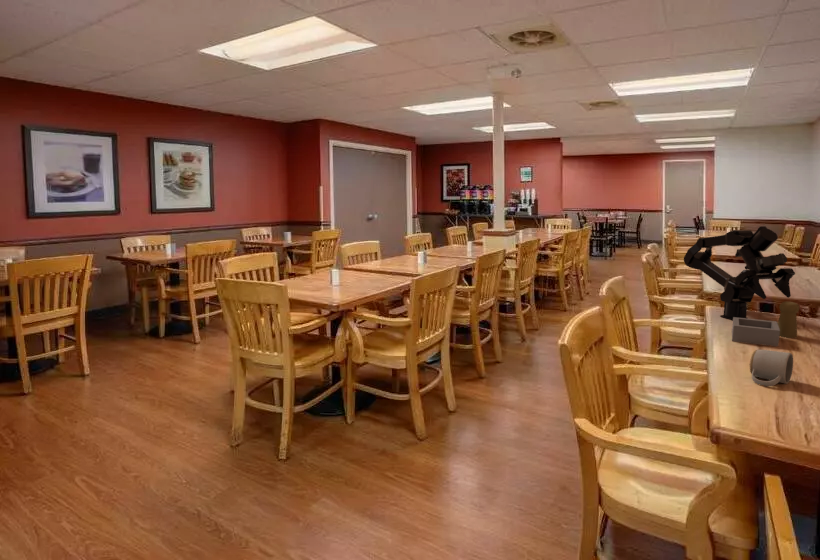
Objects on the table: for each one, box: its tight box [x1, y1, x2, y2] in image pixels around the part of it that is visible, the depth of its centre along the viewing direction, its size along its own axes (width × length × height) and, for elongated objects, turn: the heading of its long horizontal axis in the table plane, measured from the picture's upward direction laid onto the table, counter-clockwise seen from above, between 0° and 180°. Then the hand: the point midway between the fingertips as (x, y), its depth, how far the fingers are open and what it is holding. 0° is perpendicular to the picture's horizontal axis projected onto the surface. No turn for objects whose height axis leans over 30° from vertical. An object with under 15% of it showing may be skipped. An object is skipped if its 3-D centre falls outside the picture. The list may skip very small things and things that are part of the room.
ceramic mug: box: [749, 349, 794, 387], centre depth 135 cm, size 11×8×8 cm
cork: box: [777, 301, 800, 339], centre depth 173 cm, size 6×6×11 cm
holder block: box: [731, 317, 780, 347], centre depth 170 cm, size 12×12×5 cm
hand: (777, 297), depth 177 cm, fingers open, 9 cm apart
